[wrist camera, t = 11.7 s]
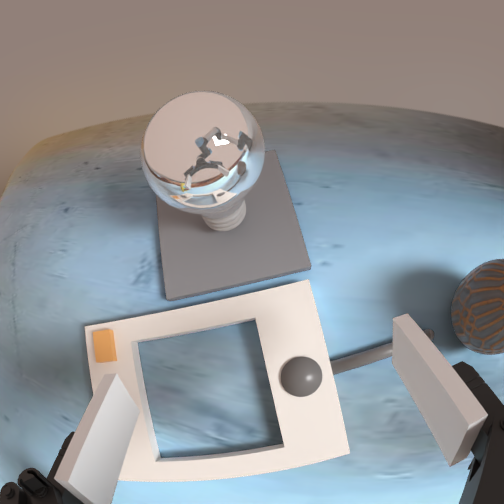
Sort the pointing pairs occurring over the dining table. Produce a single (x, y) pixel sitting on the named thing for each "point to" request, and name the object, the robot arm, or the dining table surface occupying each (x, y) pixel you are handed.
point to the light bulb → (204, 156)
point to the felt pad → (233, 241)
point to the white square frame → (279, 372)
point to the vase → (481, 309)
